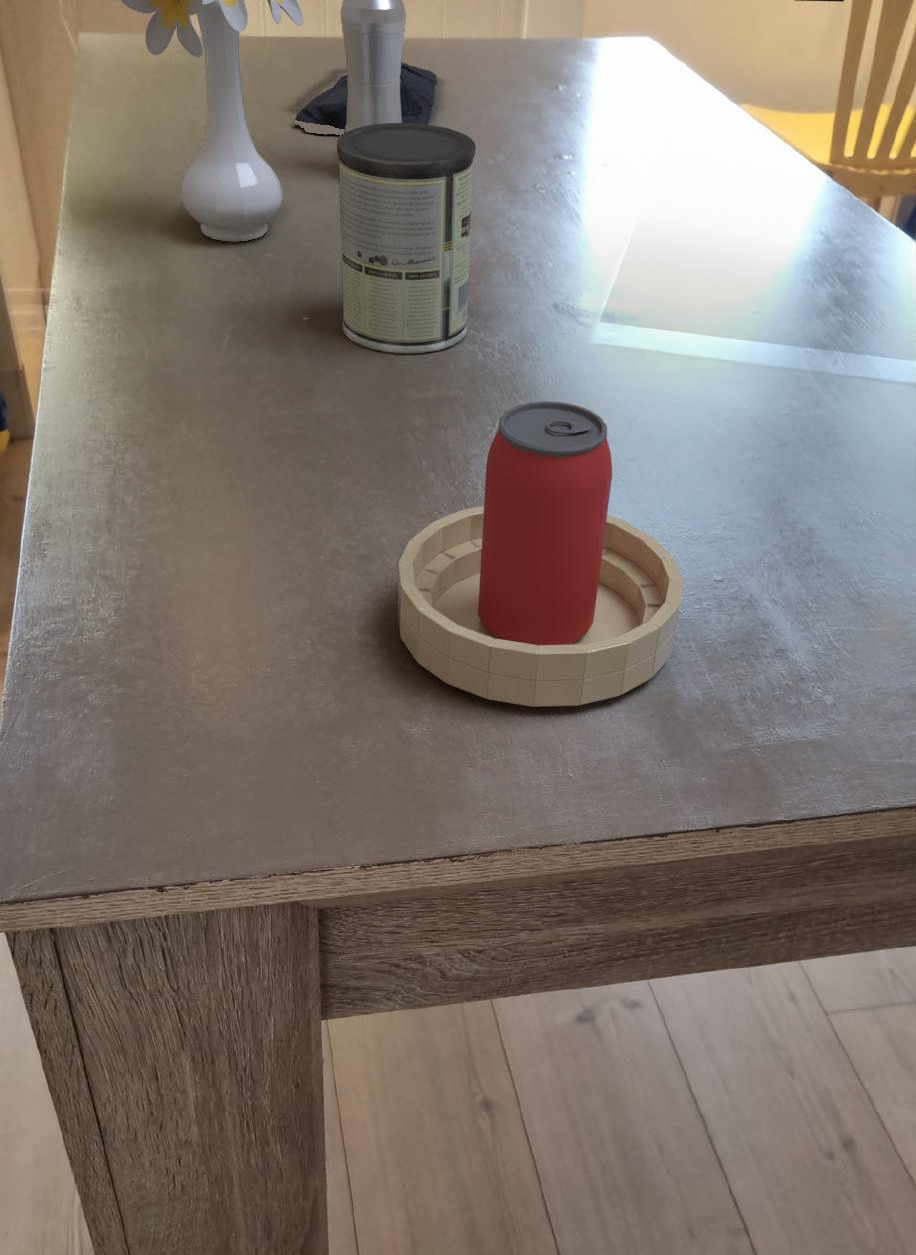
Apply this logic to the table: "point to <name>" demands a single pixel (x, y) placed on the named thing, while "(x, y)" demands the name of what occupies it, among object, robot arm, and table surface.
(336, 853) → the table surface
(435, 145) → the coffee can
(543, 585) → the beer can
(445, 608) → the bowl
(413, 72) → the dark blue folded cloth
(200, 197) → the flower vase
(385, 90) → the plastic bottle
